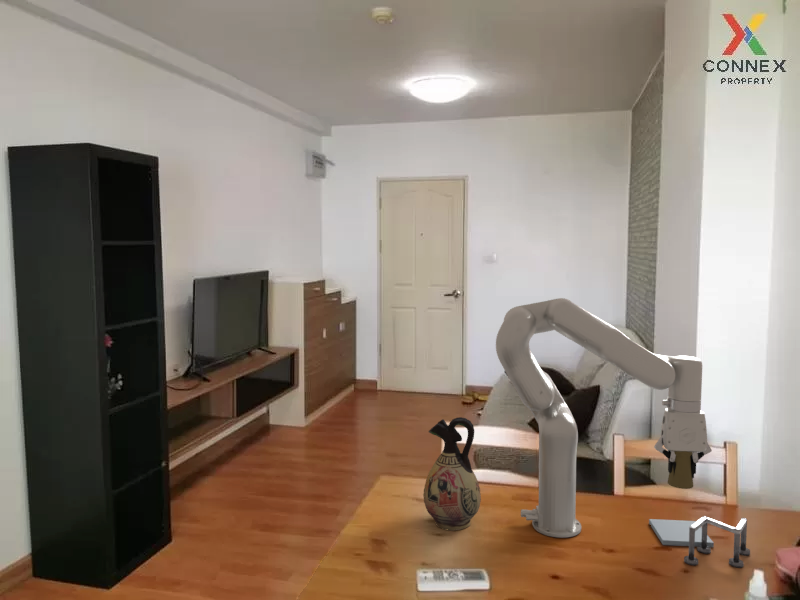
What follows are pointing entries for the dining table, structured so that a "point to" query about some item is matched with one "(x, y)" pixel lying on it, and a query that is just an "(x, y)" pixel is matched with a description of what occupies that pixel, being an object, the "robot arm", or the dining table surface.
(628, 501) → the dining table surface
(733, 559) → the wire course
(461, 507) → the ceramic jug
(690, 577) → the dining table surface
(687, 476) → the cork
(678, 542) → the pad
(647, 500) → the dining table surface
